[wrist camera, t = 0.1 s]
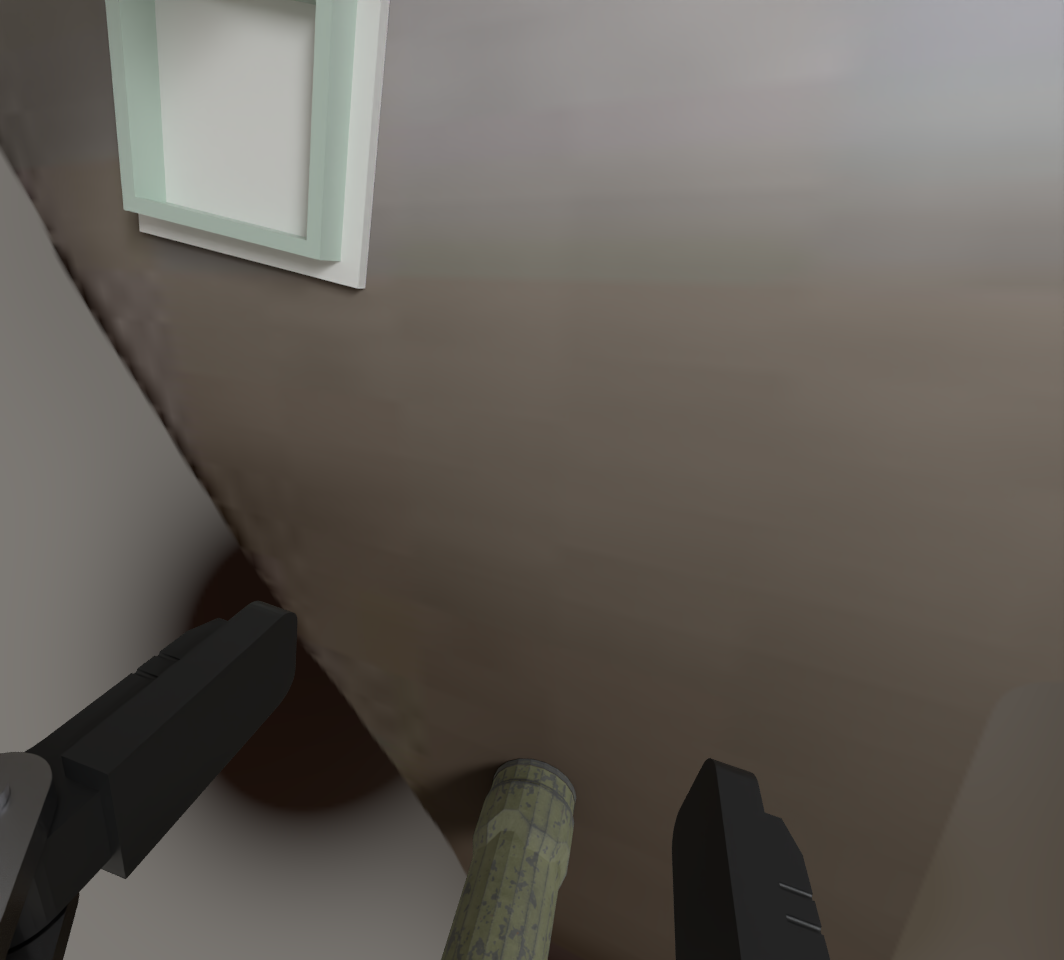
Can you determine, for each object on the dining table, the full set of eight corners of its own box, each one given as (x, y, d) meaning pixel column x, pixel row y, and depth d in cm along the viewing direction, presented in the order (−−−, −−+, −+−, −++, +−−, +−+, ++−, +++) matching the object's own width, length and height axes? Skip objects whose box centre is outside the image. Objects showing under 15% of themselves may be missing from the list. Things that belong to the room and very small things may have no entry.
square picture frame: (129, -77, 32) (72, -115, 29) (392, -28, 30) (361, -64, 27) (151, 232, 40) (107, 228, 36) (365, 288, 38) (338, 289, 34)
